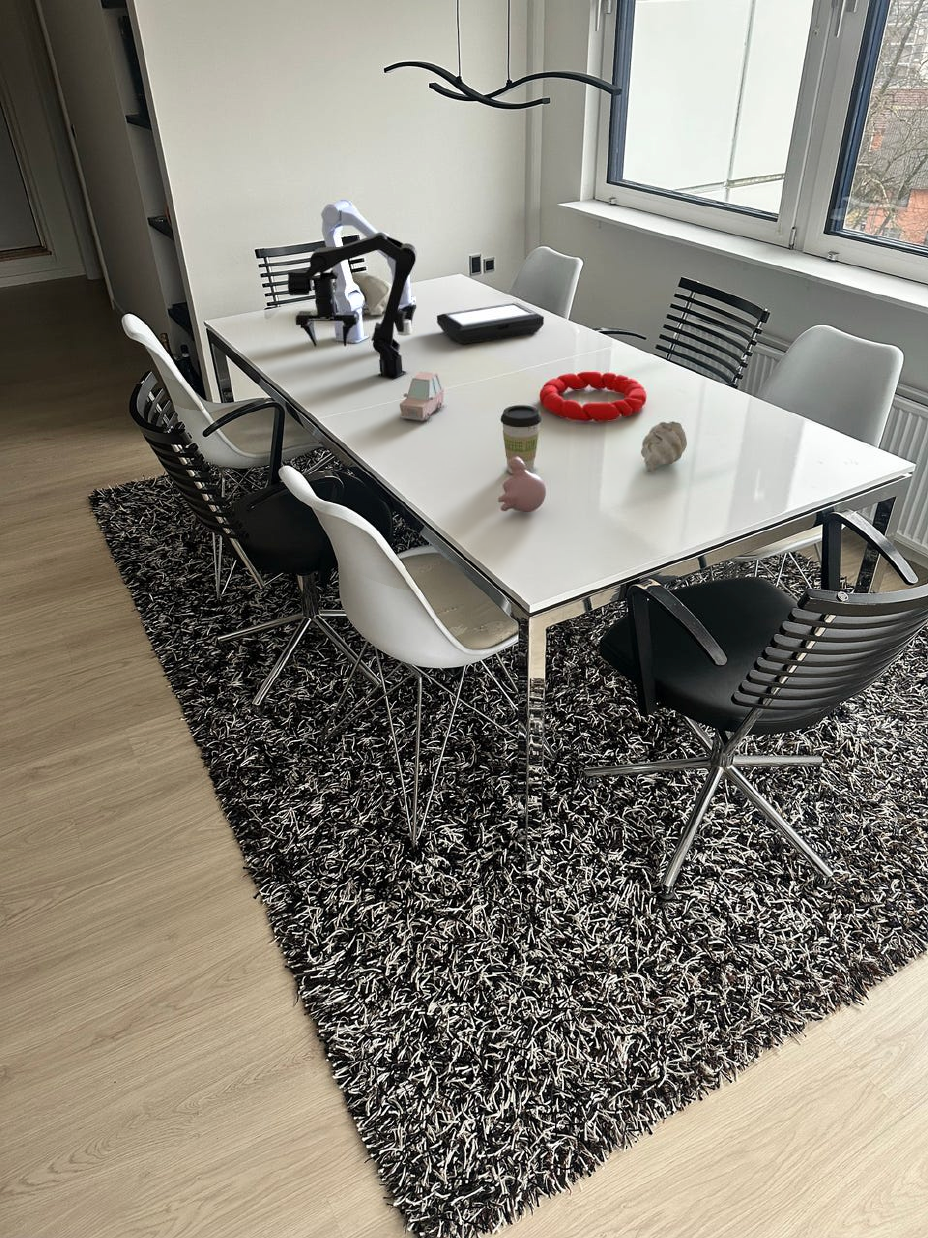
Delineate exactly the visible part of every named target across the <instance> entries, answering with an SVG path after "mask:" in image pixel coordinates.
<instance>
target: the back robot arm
mask: <svg viewBox="0 0 928 1238" xmlns="http://www.w3.org/2000/svg"><path fill="white" fill-rule="evenodd" d="M320 216H321V219H322V224H321V234H322V237H323V240H324V244H325V247H338V246H342V245H344V244H343V241H342V237H341V232H342V230H343V229H344V227H345V226H347V227H349V226H350V227H353V228H354V229H356V230H357V231H358V232H359V233H361V234H362V235H363V236H365V238H367V237H370V236H373V235H376V234H377V233H384V234H385V235H387V236H388V237H390V235H389V234H388V232H384V231H379V232H378V230H377V229H376V228H375V227H374V226H372V225H371V223H370V222H368V220H367V219H366V218H365V217H364V216H362V214H360V213H359V211H358V209H357V207H356V206H355V205H353V204H352V202H350V200H348V199H342V200H340V201H337V202H334V203H328V204H326V205H325V206H324V208H323V209H322V211H321V212H320ZM376 251H377V252H378V253H379V254H380V255H381V256H382V257H383V258H385V260H386V263H387V265H388V266H389V269H390V273H391V280H392V281H391V282H392V284H393V280H394V276H395V263H396V261H395V260H394V259H392V258H390V257H389V256H388V255H386V254H385V253H384V252H382V251H380V250H376ZM332 269H333V270H334V271H335V272H336V273H337V274H339V277H338V279H336V283H337V289H336V292H335V291H334V294H335V299H336V300H337V301H339V312H338V313H336V315H343V314H344V313H345V312H346V311H357V312H358V313H359V319H360V320H359V321H358V323H357V325H354V326H353V327H352V328H350V331H349V334H348V339H347V343H352V344H358V343H360V342H362V341H364V340H366V339H368V338H369V337H370V336H369V335H368V334H367V335H366V334H364V326H363V315H362V313H361V311H362V307H363V305H364V297H363V295H362V293H361V292H360V290H359V287H358V286H357V285H356V284H355V283H354V282H353V280H352V277H351V274H352V273H351V270H350V266H349V262H348V260H345V261H342V262H340V263H339V264H337V265H336V266H334V267H333V268H331V270H332ZM410 277H411V276H410V275H409V276H408V278H407V280H406V282H405V286H404V290H403V293H402V297H401V300H400V304H399V308H398V311H397V315H396V318H395V322H394V327H395V328H396V332H397V333H398V332H404V319H409V320H411V326H412V325H413V319H414V315H415V312H416V309H417V304H415V303H417V301H416V296H415V295H411V280H410V279H411V278H410ZM343 325H344V323H343V321H333V326H334V333H335V335H334V336H335V338H334V341H338V342H343Z"/></svg>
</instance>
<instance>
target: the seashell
mask: <svg viewBox="0 0 928 1238" xmlns="http://www.w3.org/2000/svg"><path fill="white" fill-rule="evenodd" d="M687 445H688V441H687V436H686V432H685V430H684V428H683V426H682V423H680V422H678V421H677V422H676V421H668V422H665V421H662V422H659V423H658V424H656V425H654V426H652V427H651V428H650V430H649V432H648V433H647V435H646V436H644V438H643V440H642V443H641V450H640V454H641V456H642V457H643V458H644V467H645V471H646V472H648V473H649V472H652V471H653V470H655V469H657V468H659V467H660V466H665V465H673V463H675V462H677V461H679V460H680V459H681V458H682V455H683V453H684V452H685V450H686V449H687Z"/></svg>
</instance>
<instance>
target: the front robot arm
mask: <svg viewBox="0 0 928 1238" xmlns="http://www.w3.org/2000/svg"><path fill="white" fill-rule="evenodd" d="M384 233H385V232H384ZM384 233H377V234H376V235H373V236H370V237H364V238H361V239H357V240H354V241H352V242H348V243H346V244H343V245H342V246H338V247H326V246H324V247H319V248H316V249H315V250H314V251H313V252H312V254H311V256H310V258H309V265H310V266H308V267H307V268H306V270H300V271H297V270H288V273H287V276H288V277H287V290H288V294H289V296H310V293H311V292H313V291H314V298H315V300H314V303H315V309H316V314H313V312H312V311H311V310H300V311H298V313H297V314H296V316H294V321H295V325H296V326H300V329H303V330H304V331H305V332H306V334H307V335H308V337H309V339H310V340H311V342H312V344H313V345H314V348H316V347H318V342H317V341H318V340H317V336H316V331H315V322H334V321H343V323H344V325H343V341H342V342H343V346H344V348H345V347H347V344H348V342H347V339H348V334H349V331H350V328H352V327H353V326H354V325H357V323H358V321H359V320H360V319H359V313H358V312H357V311H346V312H345V313H344V314H343V315H336V314H337V313H338V312H339V301H337V300H336V298H335V295H334V294H335V291H334V280H335V279H338V277H339V274H337V273H336V272H335V271H334V270H333V269H332V268H333V267H334V266H336V265H337V264H339V263H340V262H342V261H345V260H347V261H348V260H351V259H354V258H358V257H361V256H363V255H367V254H370V253H373V252H376V251H377V250H380V251H382V252H384V253H385V254H386V255H388V256H389V257H390V258H392V259H394V260H395V261H396V263H395V276H394V280H393V283H392V284H391V285H392V288H391V292H390V295H389V299H388V303H387V306H386V310H384V314H383V318H382V320H381V321H380V322H375V325H374V331H373V333H372V336H371V339H370V340H371V341H372V347H373V349H374V351H375V352H376V353H378V354H379V359H378V365H379V373H377V376H378V377H380V378H386V379H392V380H396V379H398V378H399V377H402V376H403V375H405V374H406V371H405V370H403V359H402V355H401V354H400V350H401V349H400V348H401V344H400V343H399V341H397V340H396V339H394V333H395V332H394V331H395V323H394V322H395V318H396V315H397V311H398V308H399V304H400V300H401V297H402V293H403V290H404V286H405V282H406V280H407V278H408V276H409V277H410V274H411V272H412V271H413V268H414V266H415V264H416V262H417V261H416V260H417V255H418V254H417V253H418V252H417V249H416V247H415V246H414V245H413V244H411V243H406V242H405V243H404V242H402V241H400V240H398V239H395V238H393V237H390V236H389V237H388V236H387V235H385V234H384ZM329 270H330V271H329ZM318 273H319V274H318Z"/></svg>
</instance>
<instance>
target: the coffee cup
mask: <svg viewBox="0 0 928 1238" xmlns="http://www.w3.org/2000/svg"><path fill="white" fill-rule="evenodd" d="M499 419H500V422H501V423H502V435H503V444H504V445H503V446H504V452H505V458H506V464H507V471H508V472H509V473H510V474H512V469H511V468H510V467H509V461H510V460H511V459H512V458H514V457H519V458H520V459H521V460H522V461H523V462H524V464H525V466H526V471H528V472H529V473H532V472H534V465H535V458H536V455H537V450H538V449H537V448H538V443H539V434H540V423H541V422H542V420H543V419H542V415H541V414H540V410H539V409H538V408H537V407H534V406H531V405H525V404H516V405H511V406H508V407H506V408H504V409H503V411H502V414H501V416H500V418H499Z"/></svg>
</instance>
